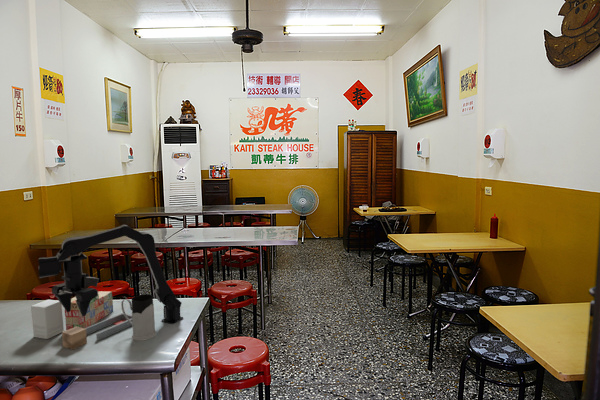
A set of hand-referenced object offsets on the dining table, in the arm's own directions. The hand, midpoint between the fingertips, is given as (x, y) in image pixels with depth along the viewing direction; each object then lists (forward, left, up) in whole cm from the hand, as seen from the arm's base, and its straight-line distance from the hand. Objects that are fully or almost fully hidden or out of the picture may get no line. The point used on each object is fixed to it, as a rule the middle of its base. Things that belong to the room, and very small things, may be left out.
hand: (76, 313), depth 138 cm
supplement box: (+18, 0, -12) cm, 22 cm away
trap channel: (0, -13, -11) cm, 17 cm away
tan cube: (0, +1, -11) cm, 11 cm away
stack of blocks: (+15, -15, -12) cm, 25 cm away
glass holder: (-14, -15, -12) cm, 24 cm away
